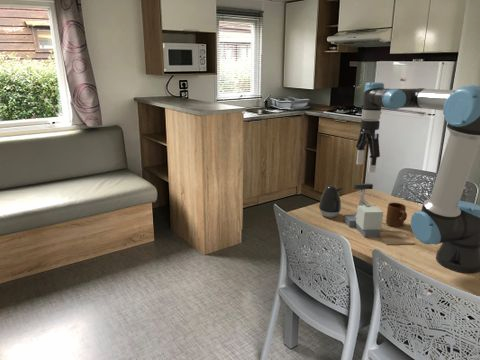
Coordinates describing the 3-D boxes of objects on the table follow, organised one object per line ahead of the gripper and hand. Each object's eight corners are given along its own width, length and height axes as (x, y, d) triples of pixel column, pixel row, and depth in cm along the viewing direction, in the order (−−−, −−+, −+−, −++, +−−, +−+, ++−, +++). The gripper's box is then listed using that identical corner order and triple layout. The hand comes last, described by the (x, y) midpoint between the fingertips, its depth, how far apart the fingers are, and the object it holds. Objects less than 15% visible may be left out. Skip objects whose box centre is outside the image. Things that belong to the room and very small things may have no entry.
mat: (415, 244, 156) (415, 243, 156) (386, 244, 155) (387, 244, 155) (401, 231, 167) (401, 231, 167) (374, 232, 166) (374, 231, 166)
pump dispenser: (342, 219, 180) (345, 189, 175) (320, 219, 180) (322, 188, 176) (337, 211, 190) (340, 182, 185) (316, 211, 190) (319, 182, 185)
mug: (411, 231, 168) (414, 211, 165) (395, 232, 167) (398, 212, 164) (398, 221, 179) (400, 202, 176) (382, 221, 178) (385, 202, 176)
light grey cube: (381, 229, 162) (383, 211, 160) (362, 229, 161) (364, 212, 159) (373, 222, 170) (375, 205, 167) (355, 222, 169) (357, 205, 167)
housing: (385, 236, 162) (386, 229, 161) (358, 237, 161) (359, 229, 160) (368, 220, 180) (369, 212, 179) (343, 220, 179) (344, 213, 178)
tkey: (374, 221, 168) (378, 188, 164) (357, 222, 168) (360, 189, 163) (367, 215, 176) (371, 183, 171) (350, 215, 175) (354, 183, 171)
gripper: (392, 124, 150) (386, 175, 156) (367, 116, 174) (362, 161, 180) (374, 124, 150) (368, 176, 156) (351, 116, 174) (347, 161, 180)
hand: (365, 168), depth 168 cm, fingers open, 13 cm apart
